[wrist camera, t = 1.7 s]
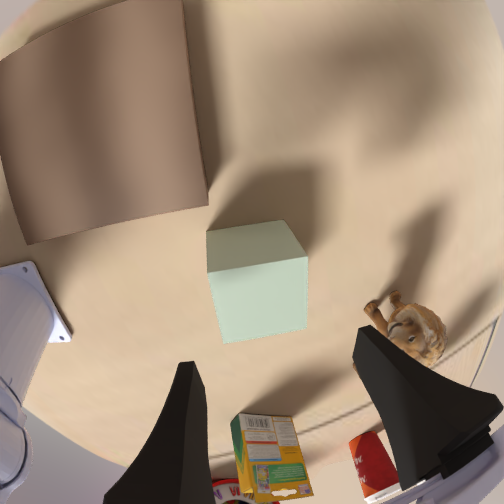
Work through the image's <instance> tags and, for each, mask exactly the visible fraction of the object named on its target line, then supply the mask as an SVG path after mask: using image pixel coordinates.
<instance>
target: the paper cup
mask: <svg viewBox="0 0 504 504" xmlns="http://www.w3.org/2000/svg"><path fill="white" fill-rule="evenodd" d="M349 446H350V450H351V453H352V457H353V460H354V463H355V466H356V470H357V473H358V476H359V480H360V483H361V486H362V490H363V493H364V496H365V499H364V500H366V502H367V503H368V504H370V503H373V502H375V501H378V500H380V499H382V498H385V497H387V496H389V495H391V494H393V493H395V492H397V491H399V490H401V487H400V484H399V478H398V473H397V470H396V468H395V467H394V465H393V463H392V461H391V459H390V457H389V455H388V453H387V452H386V450H385V448H384V446H383V444H382V442H381V440H380V439H379V437H378V435H377V434H376V432H375V431H370V432H367V433H364V434H362V435H360V436H358V437H356V438H354V439H353V440H351V441H350V443H349Z"/></svg>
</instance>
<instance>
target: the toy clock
mask: <svg viewBox="0 0 504 504" xmlns="http://www.w3.org/2000/svg"><path fill="white" fill-rule="evenodd" d="M212 486H213V491H214V496H215V501H216V504H280V503H279V501H274V502H264V503H255V500H254V494H253V493H241V490H240V484H239V479H226V480H221V481H218V482H215V483H213V484H212ZM271 495H272V494H271ZM273 496H274V495H273Z"/></svg>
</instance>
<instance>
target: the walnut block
mask: <svg viewBox="0 0 504 504" xmlns="http://www.w3.org/2000/svg"><path fill="white" fill-rule="evenodd" d="M0 156H1V160H2V165H3V169H4V174H5V178H6V182H7V185H8V189H9V193H10V196H11V200H12V203H13V206H14V209H15V213H16V216H17V219H18V222H19V224H20V227H21V230H22V233H23V235H24V238H25V241H26V243H27V245H31V244H34V243H38V242H42V241H45V240H49V239H53V238H57V237H61V236H65V235H69V234H73V233H77V232H81V231H85V230H89V229H93V228H98V227H102V226H106V225H111V224H115V223H120V222H124V221H129V220H134V219H139V218H144V217H148V216H153V215H158V214H164V213H169V212H174V211H179V210H185V209H190V208H196V207H202V206H208V205H209V204H208V187H207V181H206V175H205V169H204V162H203V156H202V149H201V143H200V136H199V129H198V123H197V116H196V108H195V101H194V94H193V86H192V78H191V70H190V62H189V54H188V45H187V36H186V27H185V17H184V7H183V1H182V0H127V1H123V2H120V3H117V4H114V5H111V6H108V7H105V8H102V9H100V10H97V11H94V12H92V13H89V14H87V15H84V16H82V17H79V18H77V19H75V20H72V21H70V22H68V23H66V24H64V25H62V26H59V27H57V28H55V29H53V30H51V31H49V32H48V33H46V34H44V35H42V36H40V37H38V38H36V39H35V40H33V41H31V42H29V43H28V44H26V45H24V46H23V47H21V48H19V49H18V50H16V51H15V52H13V53H11V54H10V55H8V56H7V57H5V58H4V59H2V60H1V61H0Z"/></svg>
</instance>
